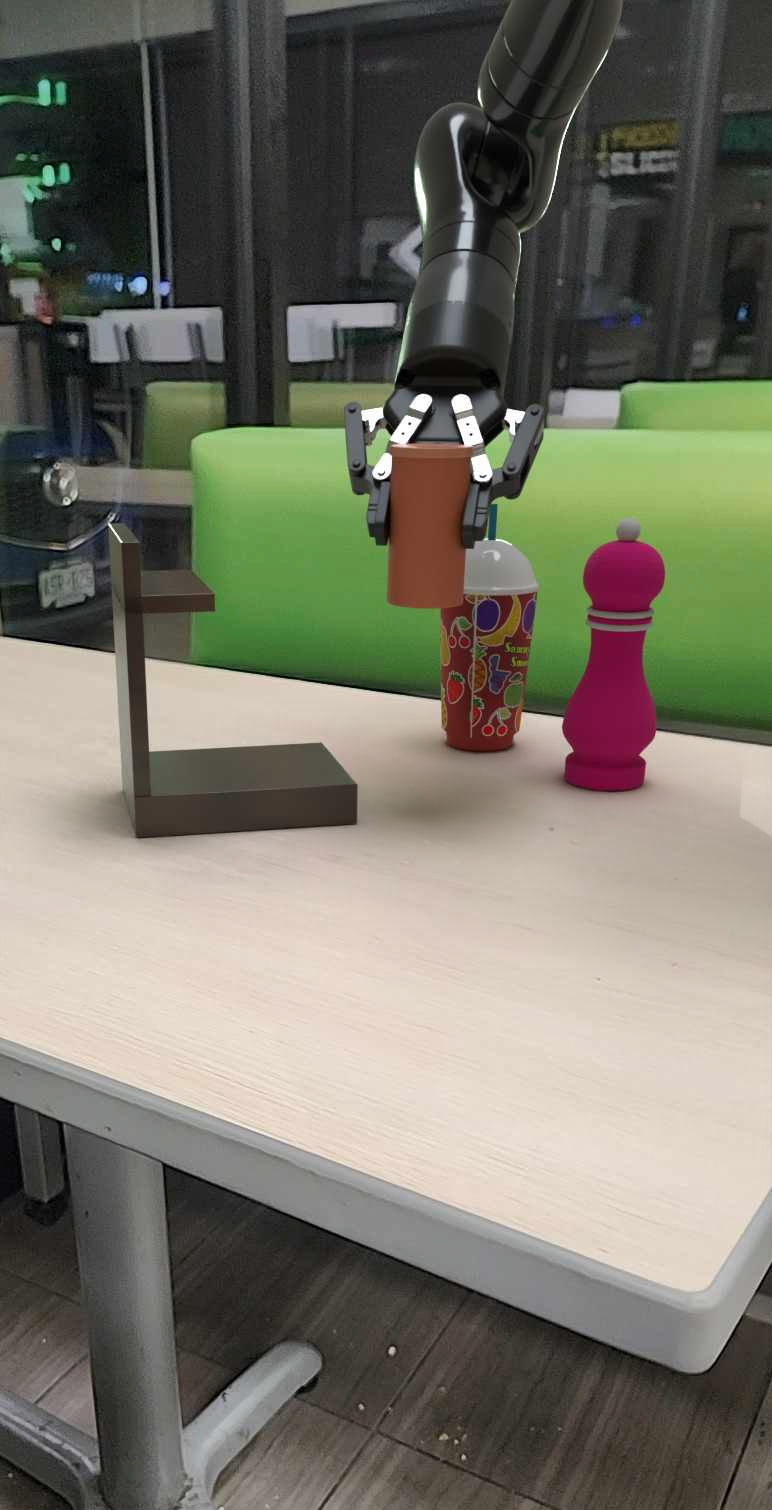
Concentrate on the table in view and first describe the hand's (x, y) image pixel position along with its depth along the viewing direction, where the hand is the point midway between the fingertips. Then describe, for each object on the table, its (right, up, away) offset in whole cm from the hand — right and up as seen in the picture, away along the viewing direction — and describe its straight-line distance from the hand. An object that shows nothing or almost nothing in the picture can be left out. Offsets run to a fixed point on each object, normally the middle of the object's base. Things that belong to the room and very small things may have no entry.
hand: (424, 538), depth 87 cm
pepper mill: (+16, -14, +19) cm, 28 cm away
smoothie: (+8, -9, +30) cm, 32 cm away
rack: (-13, -16, +13) cm, 24 cm away
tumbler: (0, -3, +3) cm, 5 cm away
